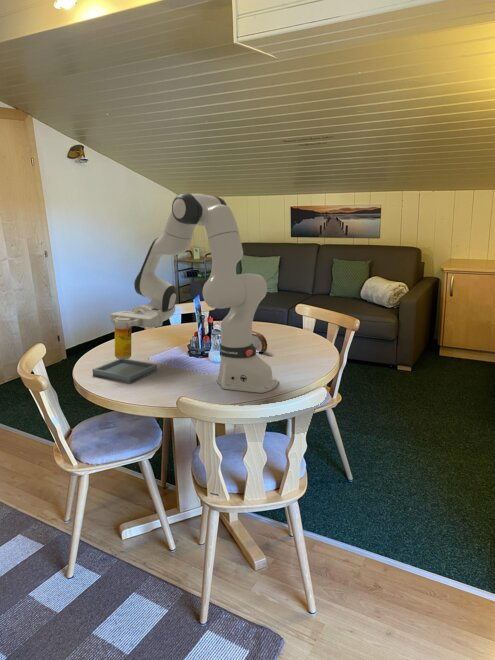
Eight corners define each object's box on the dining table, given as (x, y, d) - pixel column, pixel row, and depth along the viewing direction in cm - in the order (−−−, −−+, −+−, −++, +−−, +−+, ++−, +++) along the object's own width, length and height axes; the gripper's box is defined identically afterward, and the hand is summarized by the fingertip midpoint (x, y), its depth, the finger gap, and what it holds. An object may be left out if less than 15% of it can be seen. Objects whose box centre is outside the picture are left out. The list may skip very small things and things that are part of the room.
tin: (267, 354, 208) (267, 335, 206) (261, 355, 207) (261, 336, 204) (248, 346, 220) (248, 328, 218) (242, 347, 219) (242, 329, 216)
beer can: (126, 360, 179) (126, 320, 177) (111, 358, 181) (111, 319, 178) (134, 357, 185) (134, 318, 183) (119, 355, 187) (119, 317, 184)
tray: (157, 370, 188) (157, 364, 187) (129, 383, 174) (129, 377, 174) (121, 363, 196) (121, 357, 195) (92, 375, 182) (92, 369, 182)
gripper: (123, 305, 195) (99, 312, 183) (164, 310, 186) (141, 317, 174) (124, 321, 197) (100, 328, 185) (165, 326, 188) (142, 334, 176)
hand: (120, 323), depth 179 cm, fingers closed on beer can, 5 cm apart
